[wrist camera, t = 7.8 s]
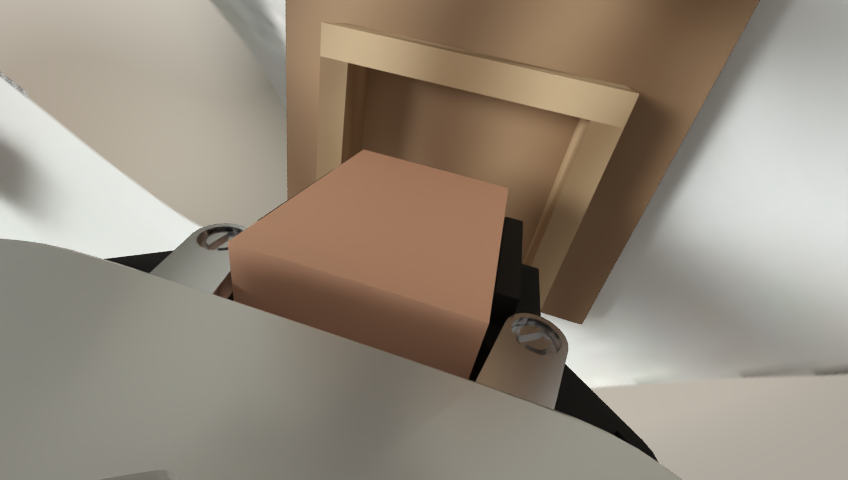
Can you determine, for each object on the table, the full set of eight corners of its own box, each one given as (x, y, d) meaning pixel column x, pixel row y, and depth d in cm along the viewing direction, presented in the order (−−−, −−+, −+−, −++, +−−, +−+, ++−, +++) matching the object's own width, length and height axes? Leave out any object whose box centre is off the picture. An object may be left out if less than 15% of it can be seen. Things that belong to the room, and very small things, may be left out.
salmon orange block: (508, 187, 11) (489, 322, 6) (470, 304, 13) (432, 475, 8) (363, 149, 11) (227, 241, 6) (351, 268, 14) (245, 406, 9)
